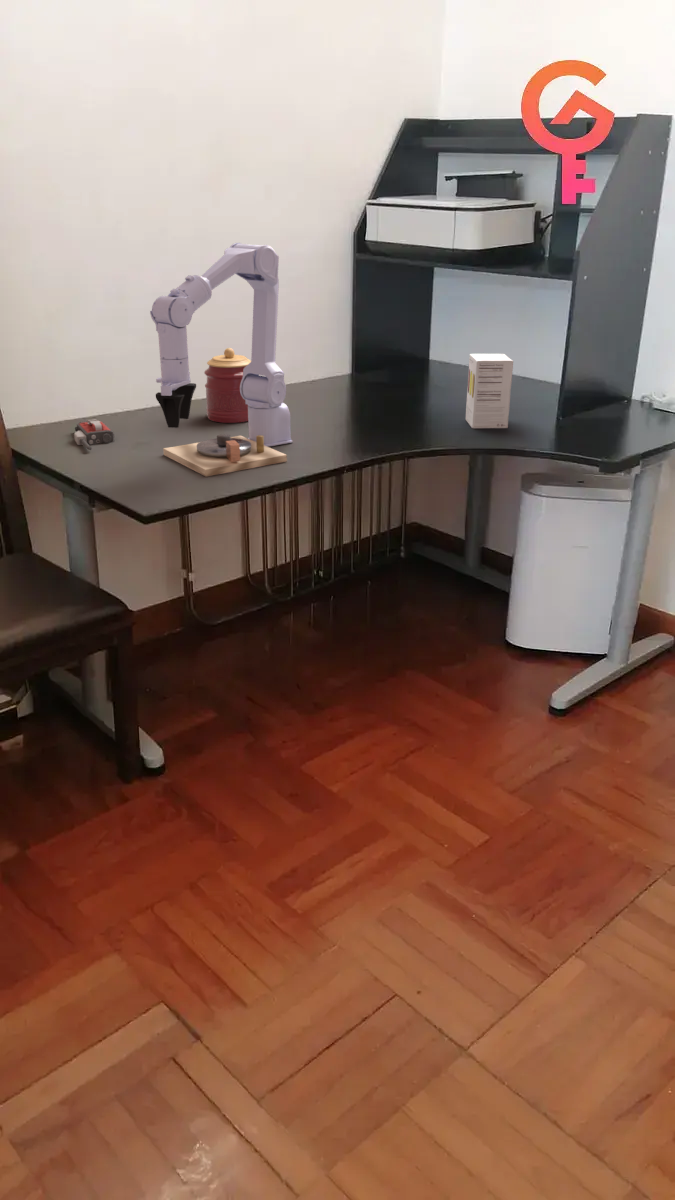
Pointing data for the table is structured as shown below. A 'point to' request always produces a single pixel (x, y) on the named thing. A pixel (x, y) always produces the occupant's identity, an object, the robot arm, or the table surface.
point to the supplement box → (489, 390)
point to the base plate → (220, 465)
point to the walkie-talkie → (92, 433)
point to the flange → (224, 448)
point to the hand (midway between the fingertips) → (178, 422)
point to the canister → (226, 388)
